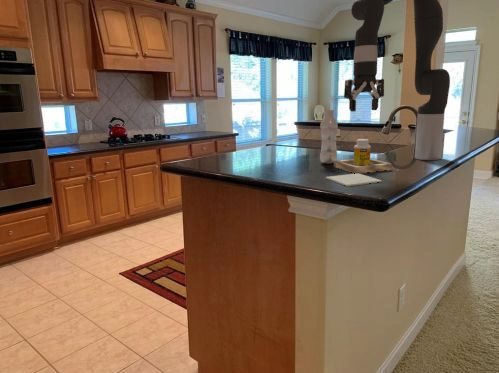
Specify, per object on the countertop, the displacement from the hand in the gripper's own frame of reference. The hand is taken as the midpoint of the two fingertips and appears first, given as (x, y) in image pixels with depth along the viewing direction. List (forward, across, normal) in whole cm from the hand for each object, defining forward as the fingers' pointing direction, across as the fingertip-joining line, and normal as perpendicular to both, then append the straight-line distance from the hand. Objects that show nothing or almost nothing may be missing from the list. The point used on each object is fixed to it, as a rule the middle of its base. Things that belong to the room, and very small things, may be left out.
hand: (363, 110), depth 132 cm
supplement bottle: (+20, 0, 0) cm, 20 cm away
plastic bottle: (+20, +5, -14) cm, 25 cm away
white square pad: (+20, +13, +14) cm, 28 cm away
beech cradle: (+20, 0, 0) cm, 20 cm away
